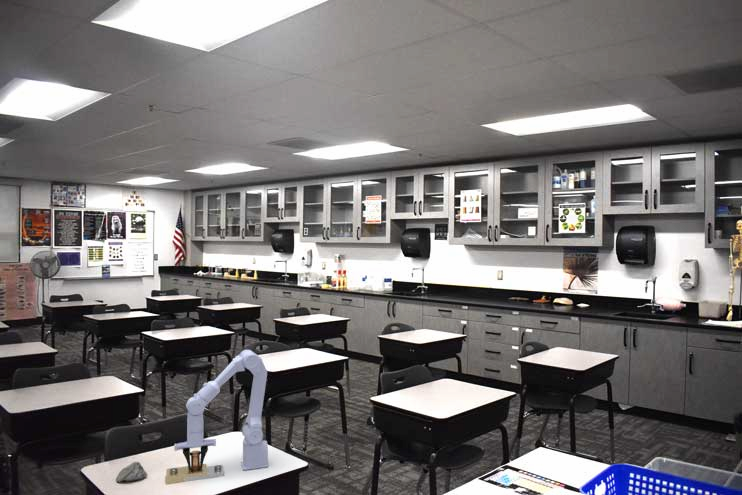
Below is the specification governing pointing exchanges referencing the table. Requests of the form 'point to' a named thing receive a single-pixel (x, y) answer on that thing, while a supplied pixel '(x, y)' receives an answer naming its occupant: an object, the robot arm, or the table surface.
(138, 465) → the gray rock
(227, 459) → the table surface
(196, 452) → the pin
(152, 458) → the table surface
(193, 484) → the table surface
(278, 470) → the table surface
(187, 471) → the wooden peg board
